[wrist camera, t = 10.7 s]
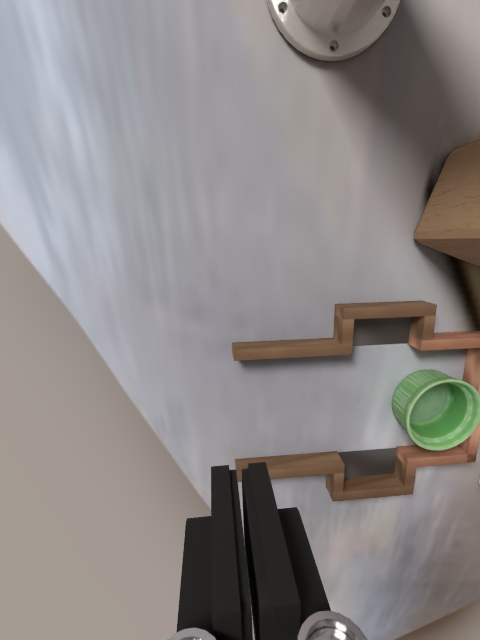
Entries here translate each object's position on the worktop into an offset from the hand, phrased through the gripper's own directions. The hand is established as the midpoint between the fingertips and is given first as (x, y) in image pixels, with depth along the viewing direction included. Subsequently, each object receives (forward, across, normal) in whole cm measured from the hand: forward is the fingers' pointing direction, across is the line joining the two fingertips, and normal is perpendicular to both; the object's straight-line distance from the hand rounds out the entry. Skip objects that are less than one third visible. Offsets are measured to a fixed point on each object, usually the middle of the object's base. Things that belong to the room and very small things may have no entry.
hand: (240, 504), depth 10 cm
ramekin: (+27, -25, +13) cm, 39 cm away
